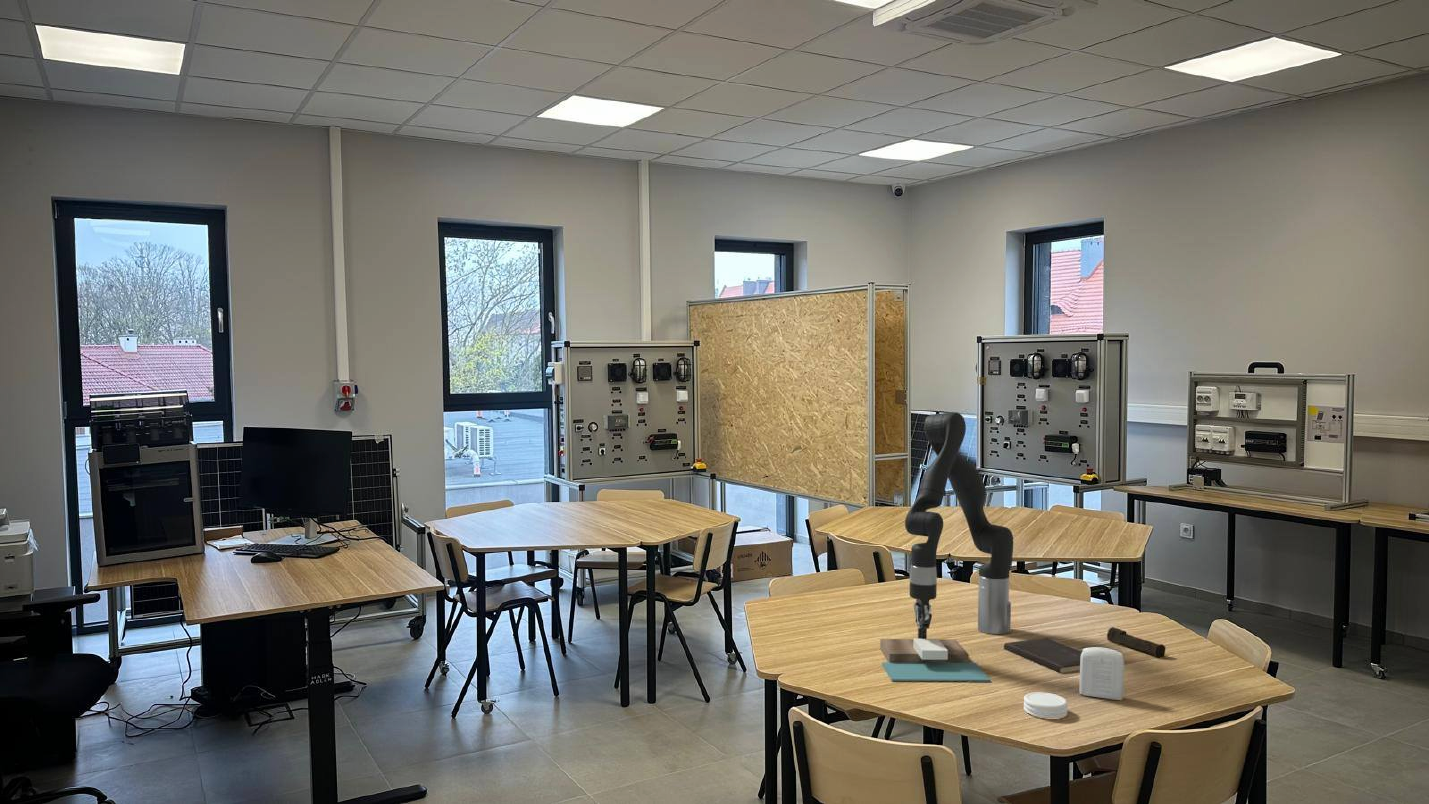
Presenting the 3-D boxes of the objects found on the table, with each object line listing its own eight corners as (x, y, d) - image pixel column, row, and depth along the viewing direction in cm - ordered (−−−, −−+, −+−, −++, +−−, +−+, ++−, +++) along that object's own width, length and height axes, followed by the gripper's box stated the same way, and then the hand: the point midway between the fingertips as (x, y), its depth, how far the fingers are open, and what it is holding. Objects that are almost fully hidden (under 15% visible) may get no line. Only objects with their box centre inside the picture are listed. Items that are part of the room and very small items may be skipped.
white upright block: (1122, 696, 236) (1124, 648, 235) (1123, 702, 232) (1124, 652, 231) (1079, 691, 240) (1080, 643, 239) (1079, 696, 236) (1080, 648, 235)
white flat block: (937, 647, 266) (938, 638, 266) (947, 659, 255) (947, 650, 255) (913, 647, 266) (913, 638, 266) (921, 659, 255) (922, 650, 255)
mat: (975, 665, 260) (975, 662, 260) (990, 682, 246) (990, 679, 246) (882, 664, 260) (882, 662, 260) (891, 681, 246) (891, 679, 246)
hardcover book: (1046, 645, 280) (1046, 637, 280) (1105, 668, 259) (1105, 660, 259) (1003, 650, 274) (1003, 643, 274) (1059, 675, 253) (1059, 667, 253)
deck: (955, 649, 274) (955, 639, 274) (968, 664, 260) (968, 654, 260) (880, 649, 274) (880, 638, 273) (889, 664, 260) (889, 653, 260)
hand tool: (1166, 657, 268) (1166, 641, 268) (1156, 659, 266) (1156, 643, 266) (1114, 640, 285) (1114, 624, 285) (1104, 641, 284) (1104, 626, 284)
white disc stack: (1066, 723, 218) (1067, 708, 218) (1022, 717, 222) (1022, 702, 222) (1067, 709, 227) (1068, 694, 227) (1024, 703, 231) (1025, 689, 231)
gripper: (941, 586, 260) (940, 648, 260) (931, 575, 273) (930, 634, 274) (914, 586, 260) (913, 647, 260) (905, 575, 273) (904, 634, 274)
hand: (922, 640), depth 267 cm, fingers closed
